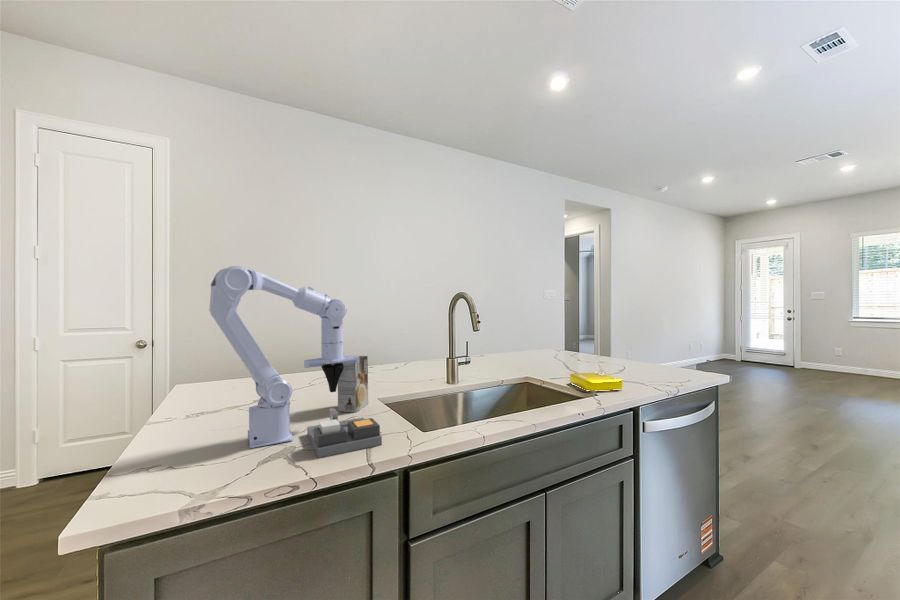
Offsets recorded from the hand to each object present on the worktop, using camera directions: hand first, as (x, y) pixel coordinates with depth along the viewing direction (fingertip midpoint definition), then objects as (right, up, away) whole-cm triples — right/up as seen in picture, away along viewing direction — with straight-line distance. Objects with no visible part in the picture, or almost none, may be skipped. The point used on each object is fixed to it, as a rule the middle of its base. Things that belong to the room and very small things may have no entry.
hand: (332, 391), depth 103 cm
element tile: (+89, -9, +41) cm, 99 cm away
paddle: (+3, -7, -8) cm, 11 cm away
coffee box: (+2, -9, +16) cm, 18 cm away
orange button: (+11, -7, -12) cm, 18 cm away
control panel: (+6, -10, -10) cm, 15 cm away
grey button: (+4, -6, -16) cm, 17 cm away
